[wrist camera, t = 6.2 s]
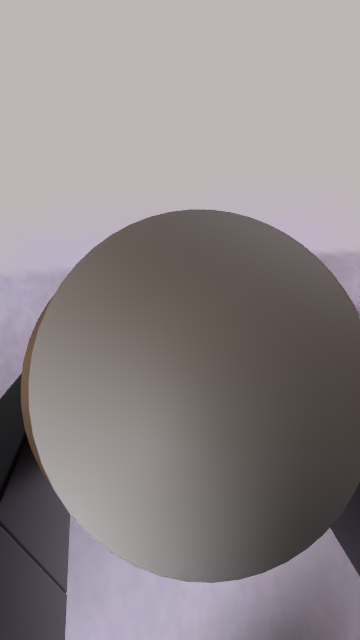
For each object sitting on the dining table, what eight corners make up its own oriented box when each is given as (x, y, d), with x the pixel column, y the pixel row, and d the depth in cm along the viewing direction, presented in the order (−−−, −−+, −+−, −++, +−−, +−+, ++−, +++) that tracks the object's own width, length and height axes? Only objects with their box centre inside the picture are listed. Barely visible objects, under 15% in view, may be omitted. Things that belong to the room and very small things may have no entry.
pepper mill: (169, 440, 15) (399, 746, 2) (77, 408, 14) (-217, 592, 2) (199, 351, 16) (449, 258, 4) (116, 319, 16) (88, 85, 3)
